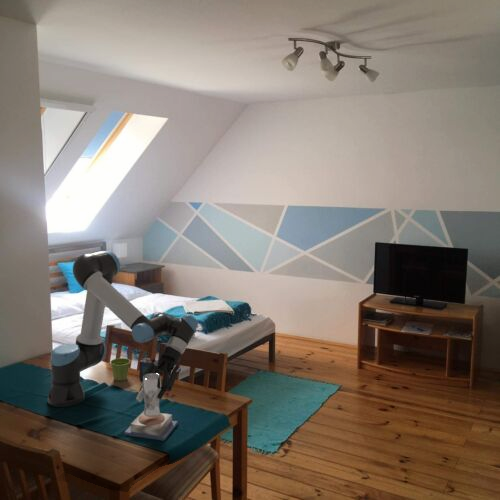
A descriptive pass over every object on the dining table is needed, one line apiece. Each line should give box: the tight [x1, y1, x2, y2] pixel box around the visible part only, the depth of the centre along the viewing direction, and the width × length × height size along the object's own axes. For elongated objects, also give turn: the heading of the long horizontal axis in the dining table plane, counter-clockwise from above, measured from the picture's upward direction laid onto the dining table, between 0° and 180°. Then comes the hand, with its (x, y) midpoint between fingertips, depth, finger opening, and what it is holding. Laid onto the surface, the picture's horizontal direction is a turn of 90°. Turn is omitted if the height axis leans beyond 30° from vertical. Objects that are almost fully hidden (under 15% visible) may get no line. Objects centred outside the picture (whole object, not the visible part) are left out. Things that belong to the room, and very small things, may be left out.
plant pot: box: [109, 357, 131, 382], centre depth 260 cm, size 9×9×9 cm
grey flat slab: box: [124, 420, 179, 442], centre depth 211 cm, size 16×14×1 cm
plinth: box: [130, 410, 173, 436], centre depth 210 cm, size 12×12×3 cm
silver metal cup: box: [142, 373, 162, 417], centre depth 209 cm, size 7×7×15 cm
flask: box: [139, 357, 158, 380], centre depth 260 cm, size 9×3×11 cm, turn 74°
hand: (145, 403), depth 206 cm, fingers closed on silver metal cup, 7 cm apart
